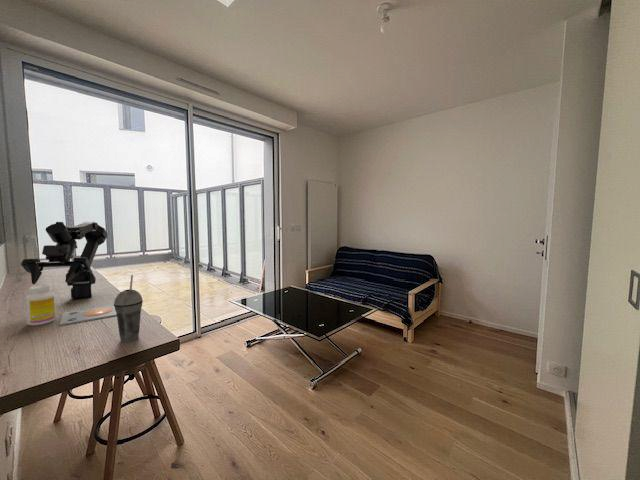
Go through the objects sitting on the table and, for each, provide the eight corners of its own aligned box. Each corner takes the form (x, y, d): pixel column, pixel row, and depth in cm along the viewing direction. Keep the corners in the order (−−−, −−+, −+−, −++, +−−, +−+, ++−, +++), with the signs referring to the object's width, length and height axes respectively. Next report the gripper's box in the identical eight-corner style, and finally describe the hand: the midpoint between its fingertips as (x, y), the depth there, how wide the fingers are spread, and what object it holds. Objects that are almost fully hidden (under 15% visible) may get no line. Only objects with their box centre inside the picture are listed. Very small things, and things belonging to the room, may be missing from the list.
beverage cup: (109, 341, 77) (107, 276, 76) (134, 332, 84) (132, 272, 83) (124, 346, 74) (122, 279, 73) (149, 336, 81) (147, 274, 80)
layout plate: (116, 305, 108) (116, 304, 108) (118, 315, 98) (118, 313, 98) (63, 314, 97) (63, 312, 97) (59, 326, 87) (59, 324, 87)
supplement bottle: (59, 320, 92) (57, 285, 91) (34, 327, 85) (32, 290, 85) (48, 317, 94) (46, 283, 93) (22, 324, 88) (20, 287, 87)
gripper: (22, 237, 94) (2, 272, 85) (86, 237, 102) (74, 269, 93) (36, 255, 102) (19, 289, 93) (95, 254, 110) (85, 285, 100)
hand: (50, 283), depth 95 cm, fingers open, 9 cm apart
